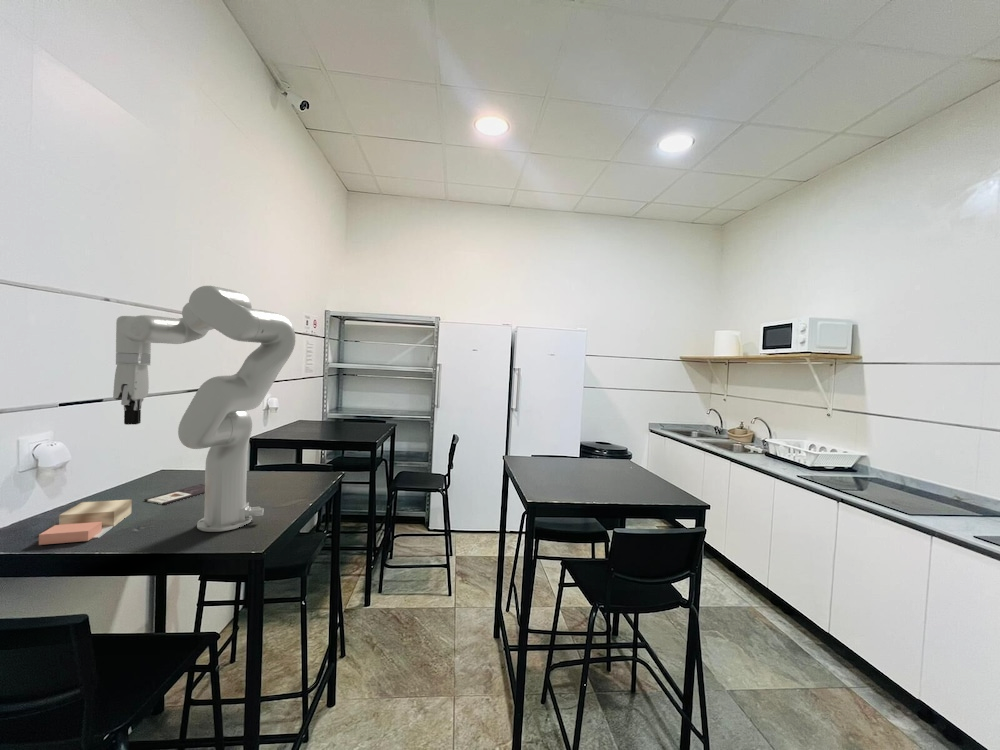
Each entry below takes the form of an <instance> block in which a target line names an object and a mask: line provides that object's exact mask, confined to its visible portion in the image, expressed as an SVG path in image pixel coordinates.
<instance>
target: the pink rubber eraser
mask: <svg viewBox="0 0 1000 750" xmlns="http://www.w3.org/2000/svg"><path fill="white" fill-rule="evenodd" d="M101 531H102V522H91V523H77V524H63V525H59V524H54V525H52V526H51V527H50V528H48V529H46V530H45V531H42V532H41V533H39V534H38V546H42V545H54V544H56V545H57V544H65V543H78V542H88V541H90V540H92V539H91V538H93V537H94V536H96V535H97V534H98V533H100V532H101Z"/></svg>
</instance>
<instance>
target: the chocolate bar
mask: <svg viewBox="0 0 1000 750" xmlns="http://www.w3.org/2000/svg"><path fill="white" fill-rule="evenodd" d="M204 493H205V484H201V483H200V484H196V485H191V486H188V487H185V488H181V489H178V490H174V491H170V492H165V493H163V494H159V495H155V496H151V497H147V498H145V499H143V500H144V502H147V503H148V502H149V503H152V504H157V503H158V504H157V505H162V504H163V506H167V504H168V505H171V504H174V503H173V502H175V503H177V502H176V501H178V502H180V500H181V501H184V500H183V499H185V500H187V498H188V499H191V498H194V497H193V496H195V497H197V495H198V496H201V495H200V494H202V495H205V494H204ZM190 497H191V498H190ZM170 503H171V504H170Z"/></svg>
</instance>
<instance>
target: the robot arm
mask: <svg viewBox="0 0 1000 750" xmlns="http://www.w3.org/2000/svg"><path fill="white" fill-rule="evenodd" d="M181 314H182V317H181V318H174V317H168V316H158V315H157V316H156V315H146V314H141V315H120V316H118V317H117V318H116V323H115V324H116V325H115V329H116V330H115V331H116V332H115V365H116V368H115V373H114V382H113V391H112V392H113V395H112V396H113V397H112V398H113V400H115V401H120V400H121V403H120V404H121V406H123V410H124V411H123V412H124V415H123V418H124V420H123V423H124V425H129V426H130V425H139V424H141V418H142V415H141V414H142V411H141V409H142V403H143V402H144V399H145V398H147V397H148V396H149V389H150V388H149V385H150V384H149V383H150V382H149V367H148V366H151V354H152V353H151V351H152V349H151V347H152V344H167V345H168V344H169V345H170V344H172V345H180V344H186V343H190V342H194V341H197V340H200V339H202V338H204V337H205V336H206V335H207V333H208V332H209V331H213V330H216V331H218V332H219V333H221V334H222V335H224V336H225V337H227V338H229V339H231V340H233V341H236V342H237V341H238V342H242V343H243V342H244V343H245V342H246V343H255V344H256V343H258V344H259V343H260V345H259V346H258V347H257V348H255V350H253V351H252V352H251V353H250V354H249V355H248V356H247V357H246V358H245V360H244V361H243V364H242V365H241V366H240V368H239V370H238V371H237V372H236V373H235V374H231V375H218V376H213V377H211V378H209V379H208V378H207V380H205V381H204V382H203V383H202V384H201V385H200V386H199V388H198V390H197V391H196V393H195V394H194V396H193V398H192V399H191V401H190V403H189V404H188V407H187V408H186V410H185V411H184V414H183V415H182V417H181V420H180V422H179V424H178V427H177V428H178V429H177V435H178V439H179V442H180V443H181V444H182V445H183V446H184V447H186V448H189V449H192V450H201V449H207V448H209V450H208V451H207V454H206V458H205V467H204V468H205V470H204V475H205V476H204V485H205V494H204V512H203V513H204V514H203V515H204V516H203V517H202V518H201V519H199V520H198V521H197V522H196V524H197V525H196V529H198V531H201V532H208V533H214V532H215V533H216V532H217V533H218V532H227V531H230V530H237V529H240V528H241V527H245V526H246V524H247V525H248V524H250V523H251V522H252V521H253V516H256V517H257V516H260V517H261V516H264V510H265V508H263V507H261V506H254V507H251V505H250V502H249V501H248V502H247V480H248V479H247V475H248V473H247V472H248V470H247V469H248V452H249V451H248V450H249V443H250V438H251V436H252V430H253V420H252V418H251V416H250V414H249V413H248V411H251V410H254V409H256V408H258V407H259V406H260V405H261V403H262V402H263V401H264V400H265V398H266V395H267V394H268V392H269V390H270V389H271V387H272V385H273V383H275V381H276V379H277V376H278V375H279V374H280V372H281V370H282V369H283V367H284V366H285V365H286V363H287V361H288V360H289V359H290V357H291V356H292V353H293V352H294V348H295V347H296V346H295V345H296V330H295V328H294V326H293V324H292V322H291V321H290V320H289V319H288V318H287V317H285V316H283V315H281V314H279V313H277V312H272V311H268V310H262V309H256V308H252V303H251V300H250V299H249V298H248V297H247V295H245V294H244V293H242V292H240V291H237V290H232V289H228V288H223V287H219V286H214V285H202V286H199V287H197V288H196V289H194V290H193V291H192V292H191V293H190V295H189V298H188V302H187V303H185V305H184V306H183V307H182V311H181ZM251 520H252V521H251ZM244 525H245V526H244ZM239 527H240V528H239Z"/></svg>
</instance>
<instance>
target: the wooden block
mask: <svg viewBox="0 0 1000 750" xmlns="http://www.w3.org/2000/svg"><path fill="white" fill-rule="evenodd" d="M132 502H133V501H132V499H129V498H128V499H120V500H119V499H115V500H100V501H99V500H98V501H82V502H80V503H78V504H77V505H75V506H73V507H71V508H69V509H68V510H66V511H64V512H62V513H61V514H58V515H59V516H58V525H63V524H77V523H91V522H102V527H109V526H113V528H114V527H115V526H117V525H118V524H119V523H120V522H122V521H124V518H125V519H126V518H127V517H129V516H130V515H131V514H132Z"/></svg>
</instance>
